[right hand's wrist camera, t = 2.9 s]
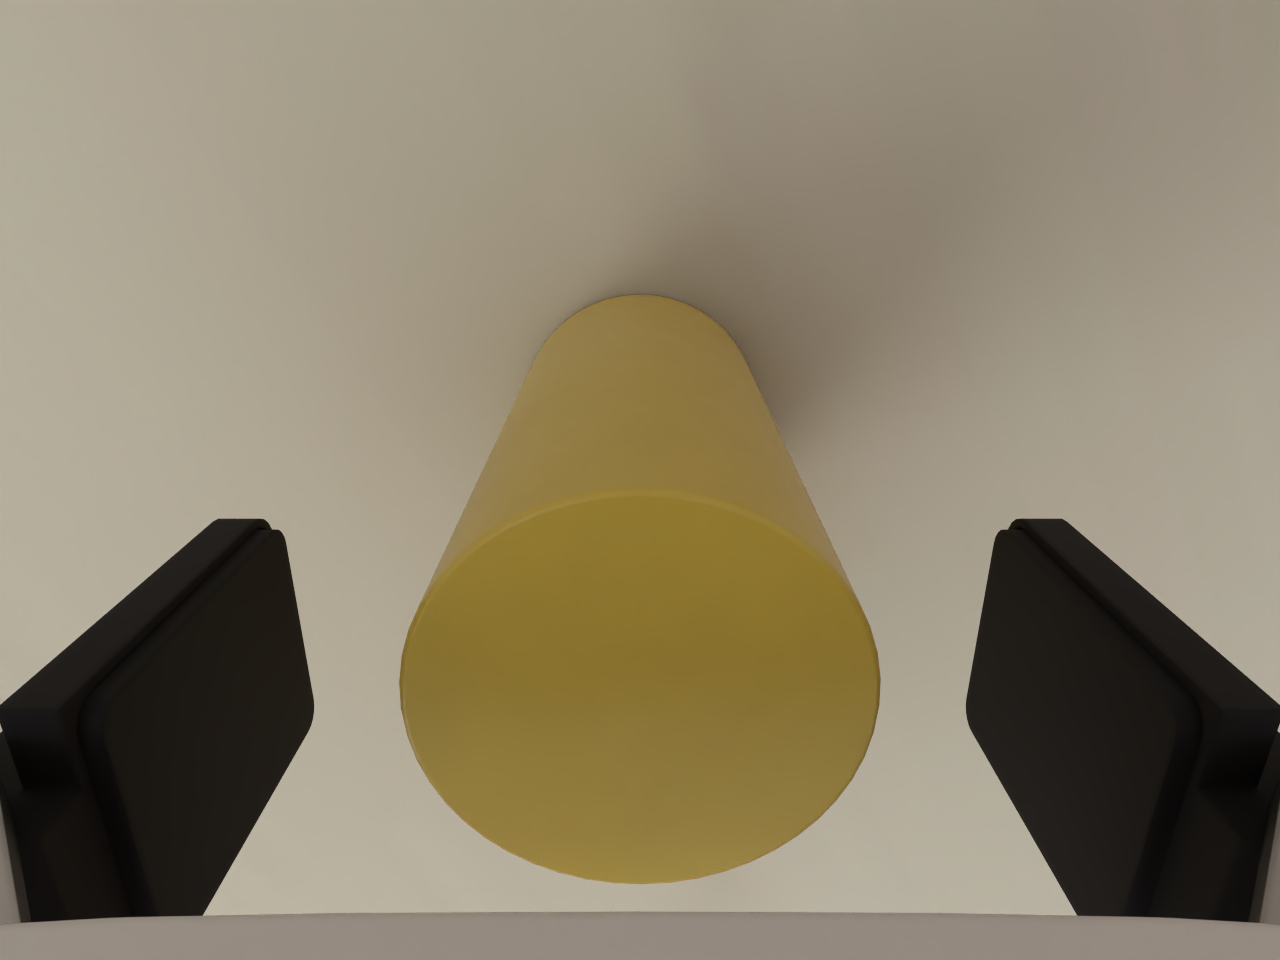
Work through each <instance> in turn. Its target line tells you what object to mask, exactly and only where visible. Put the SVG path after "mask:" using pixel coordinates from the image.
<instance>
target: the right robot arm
mask: <svg viewBox="0 0 1280 960" xmlns="http://www.w3.org/2000/svg"><path fill="white" fill-rule="evenodd" d="M313 714H314V699H313V693H312V688H311V682H310V676H309V671H308V665H307V659H306V654H305V648H304V642H303V637H302V631H301V625H300V620H299V614H298V608H297V603H296V597H295V591H294V586H293V580H292V574H291V569H290V563H289V557H288V552H287V546H286V541H285V538H284V536H283V534H282V532H281V531H280V530H272V529H271V527H270V525H269V523H268V522H267V521H265V520H264V519H217V520H215V521H213V522H212V523H211V524H210V525H209V526H207V527H206V528H205V529H204V530H203V531H202V532H201V533H199V534H198V535H197V536H196V537H195V538H194V539H192V540H191V541H190V542H189V543H188V544H187V545H185V546H184V547H183V548H182V549H181V550H180V551H178V552H177V553H176V554H175V555H174V556H173V557H171V558H170V559H169V560H168V561H167V562H166V563H165V564H163V565H162V566H161V567H160V568H159V569H158V570H156V571H155V572H154V573H153V574H152V575H151V576H149V577H148V578H147V579H146V580H145V581H144V582H142V583H141V584H140V585H139V586H138V587H137V588H136V589H134V590H133V591H132V592H131V593H130V594H129V595H127V596H126V597H125V598H124V599H123V600H122V601H120V602H119V603H118V604H117V605H116V606H115V607H113V608H112V609H111V610H110V611H109V612H108V613H106V614H105V615H104V616H103V617H102V618H101V619H100V620H98V621H97V622H96V623H95V624H94V625H93V626H91V627H90V628H89V629H88V630H87V631H86V632H84V633H83V634H82V635H81V636H80V637H79V638H77V639H76V640H75V641H74V642H73V643H72V644H71V645H69V646H68V647H67V648H66V649H65V650H64V651H62V652H61V653H60V654H59V655H58V656H57V657H55V658H54V659H53V660H52V661H51V662H50V663H48V664H47V665H46V666H45V667H44V668H43V669H41V670H40V671H39V672H38V673H37V674H36V675H35V676H33V677H32V678H31V679H30V680H29V681H28V682H26V683H25V684H24V685H23V686H22V687H21V688H19V689H18V690H17V691H16V692H15V693H14V694H12V695H11V696H10V697H9V698H8V699H7V700H6V701H4V702H3V703H2V704H1V705H0V724H1V727H2V730H3V731H2V732H1V733H0V960H1280V733H1279V732H1278V731H1277V730H1278V727H1279V724H1280V705H1279V704H1278V703H1277V702H1276V701H1274V700H1273V699H1272V698H1271V697H1270V696H1269V695H1268V694H1266V693H1265V692H1264V691H1263V690H1262V689H1261V688H1259V687H1258V686H1257V685H1256V684H1255V683H1254V682H1252V681H1251V680H1250V679H1249V678H1248V677H1247V676H1245V675H1244V674H1243V673H1242V672H1241V671H1240V670H1239V669H1237V668H1236V667H1235V666H1234V665H1233V664H1232V663H1230V662H1229V661H1228V660H1227V659H1226V658H1225V657H1223V656H1222V655H1221V654H1220V653H1219V652H1218V651H1216V650H1215V649H1214V648H1213V647H1212V646H1211V645H1209V644H1208V643H1207V642H1206V641H1205V640H1204V639H1203V638H1201V637H1200V636H1199V635H1198V634H1197V633H1196V632H1194V631H1193V630H1192V629H1191V628H1190V627H1189V626H1187V625H1186V624H1185V623H1184V622H1183V621H1182V620H1180V619H1179V618H1178V617H1177V616H1176V615H1175V614H1174V613H1172V612H1171V611H1170V610H1169V609H1168V608H1167V607H1165V606H1164V605H1163V604H1162V603H1161V602H1160V601H1158V600H1157V599H1156V598H1155V597H1154V596H1153V595H1151V594H1150V593H1149V592H1148V591H1147V590H1146V589H1144V588H1143V587H1142V586H1141V585H1140V584H1139V583H1138V582H1136V581H1135V580H1134V579H1133V578H1132V577H1131V576H1129V575H1128V574H1127V573H1126V572H1125V571H1124V570H1122V569H1121V568H1120V567H1119V566H1118V565H1117V564H1115V563H1114V562H1113V561H1112V560H1111V559H1110V558H1109V557H1107V556H1106V555H1105V554H1104V553H1103V552H1102V551H1100V550H1099V549H1098V548H1097V547H1096V546H1095V545H1093V544H1092V543H1091V542H1090V541H1089V540H1088V539H1086V538H1085V537H1084V536H1083V535H1082V534H1081V533H1079V532H1078V531H1077V530H1076V529H1075V528H1074V527H1073V526H1071V525H1070V524H1069V523H1068V522H1067V521H1065V520H1063V519H1016V520H1015V521H1013V522H1012V523H1011V525H1010V527H1009V529H1008V530H1000V531H999V532H998V534H997V536H996V538H995V541H994V546H993V552H992V557H991V563H990V569H989V574H988V580H987V586H986V591H985V597H984V603H983V608H982V614H981V620H980V625H979V631H978V637H977V642H976V648H975V654H974V659H973V665H972V671H971V676H970V682H969V688H968V693H967V699H966V714H967V720H968V724H969V727H970V729H971V731H972V733H973V735H974V736H975V738H976V740H977V742H978V743H979V745H980V747H981V749H982V750H983V752H984V754H985V756H986V757H987V759H988V761H989V762H990V764H991V766H992V768H993V769H994V771H995V773H996V775H997V776H998V778H999V780H1000V782H1001V783H1002V785H1003V787H1004V789H1005V790H1006V792H1007V794H1008V796H1009V797H1010V799H1011V801H1012V803H1013V804H1014V806H1015V808H1016V809H1017V811H1018V813H1019V815H1020V816H1021V818H1022V820H1023V822H1024V823H1025V825H1026V827H1027V829H1028V830H1029V832H1030V834H1031V836H1032V837H1033V839H1034V841H1035V843H1036V844H1037V846H1038V848H1039V850H1040V851H1041V853H1042V855H1043V857H1044V858H1045V860H1046V862H1047V863H1048V865H1049V867H1050V869H1051V870H1052V872H1053V874H1054V876H1055V877H1056V879H1057V881H1058V883H1059V884H1060V886H1061V888H1062V890H1063V891H1064V893H1065V895H1066V897H1067V898H1068V900H1069V902H1070V904H1071V905H1072V907H1073V909H1074V910H1075V912H1076V914H1077V916H1062V915H1010V914H958V913H811V912H469V913H322V914H270V915H218V916H203V914H204V912H205V910H206V909H207V907H208V905H209V904H210V902H211V900H212V898H213V897H214V895H215V893H216V891H217V890H218V888H219V886H220V884H221V883H222V881H223V879H224V877H225V876H226V874H227V872H228V870H229V869H230V867H231V865H232V863H233V862H234V860H235V858H236V857H237V855H238V853H239V851H240V850H241V848H242V846H243V844H244V843H245V841H246V839H247V837H248V836H249V834H250V832H251V830H252V829H253V827H254V825H255V823H256V822H257V820H258V818H259V816H260V815H261V813H262V811H263V809H264V808H265V806H266V804H267V803H268V801H269V799H270V797H271V796H272V794H273V792H274V790H275V789H276V787H277V785H278V783H279V782H280V780H281V778H282V776H283V775H284V773H285V771H286V769H287V768H288V766H289V764H290V762H291V761H292V759H293V757H294V756H295V754H296V752H297V750H298V749H299V747H300V745H301V743H302V742H303V740H304V738H305V736H306V735H307V733H308V731H309V729H310V727H311V724H312V720H313Z"/></svg>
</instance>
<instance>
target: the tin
mask: <svg viewBox="0 0 1280 960" xmlns="http://www.w3.org/2000/svg"><path fill="white" fill-rule="evenodd" d="M399 685H400V699H401V710H402V714H403V718H404V723H405V727H406V732H407V736H408V738H409V741H410V744H411V746H412V749H413V751H414V754H415V756H416V759H417V761H418V763H419V764H420V766H421V768H422V770H423V771H424V773H425V775H426V776H427V778H428V780H429V782H430V783H431V784H432V786H433V787H434V788H435V790H436V791H437V792H438V793H439V795H440V796H441V797H442V799H443V800H444V801H445V803H446V804H447V805H448V806H449V807H450V808H451V809H452V810H453V811H454V812H455V813H456V814H457V815H458V816H459V817H460V818H461V819H462V820H463V821H465V822H466V823H467V824H468V825H470V826H471V827H472V828H473V829H475V830H476V831H477V832H479V833H480V834H481V835H482V836H484V837H485V838H487V839H488V840H490V841H491V842H493V843H495V844H496V845H498V846H500V847H501V848H503V849H505V850H506V851H508V852H510V853H512V854H514V855H516V856H518V857H520V858H523V859H525V860H527V861H529V862H531V863H533V864H536V865H539V866H542V867H545V868H548V869H550V870H553V871H556V872H559V873H563V874H567V875H571V876H576V877H580V878H584V879H590V880H597V881H604V882H611V883H629V884H652V883H670V882H676V881H683V880H690V879H696V878H701V877H705V876H709V875H712V874H716V873H720V872H724V871H727V870H730V869H733V868H735V867H738V866H741V865H743V864H746V863H749V862H751V861H753V860H755V859H757V858H760V857H762V856H764V855H766V854H768V853H770V852H772V851H774V850H776V849H777V848H779V847H780V846H782V845H784V844H785V843H787V842H788V841H790V840H791V839H793V838H795V837H796V836H798V835H799V834H800V833H801V832H803V831H804V830H805V829H806V828H808V827H809V826H810V825H811V824H813V823H814V822H815V821H816V820H818V819H819V818H820V817H821V816H822V815H823V814H824V813H825V811H826V810H827V809H828V808H829V807H830V806H831V805H832V804H833V803H834V802H835V801H836V800H837V799H838V797H839V796H840V795H841V793H842V792H843V791H844V789H845V788H846V787H847V785H848V784H849V783H850V781H851V780H852V778H853V777H854V775H855V773H856V771H857V769H858V768H859V766H860V764H861V762H862V760H863V758H864V757H865V754H866V751H867V749H868V746H869V743H870V740H871V738H872V735H873V732H874V728H875V723H876V718H877V713H878V708H879V700H880V670H879V661H878V652H877V649H876V645H875V642H874V638H873V635H872V631H871V628H870V625H869V623H868V621H867V619H866V616H865V614H864V612H863V610H862V608H861V606H860V603H859V601H858V599H857V597H856V595H855V593H854V591H853V589H852V586H851V584H850V582H849V580H848V578H847V576H846V574H845V571H844V569H843V567H842V565H841V563H840V561H839V559H838V557H837V554H836V552H835V550H834V548H833V546H832V544H831V542H830V540H829V537H828V535H827V533H826V531H825V529H824V527H823V525H822V523H821V520H820V518H819V516H818V514H817V512H816V510H815V508H814V506H813V503H812V501H811V499H810V497H809V495H808V493H807V491H806V488H805V486H804V484H803V482H802V480H801V478H800V476H799V474H798V471H797V469H796V467H795V465H794V463H793V461H792V459H791V457H790V454H789V452H788V450H787V448H786V446H785V444H784V442H783V440H782V437H781V435H780V433H779V431H778V429H777V427H776V425H775V423H774V420H773V418H772V416H771V414H770V412H769V410H768V408H767V405H766V403H765V401H764V399H763V397H762V395H761V393H760V391H759V388H758V386H757V384H756V382H755V380H754V378H753V376H752V374H751V371H750V369H749V367H748V365H747V363H746V361H745V359H744V357H743V354H742V353H741V351H740V349H739V348H738V346H737V345H736V343H735V342H734V340H733V339H732V338H731V337H730V336H729V334H728V333H727V332H726V331H725V330H724V329H723V328H722V327H721V326H720V325H719V324H718V323H716V322H715V321H714V320H713V319H712V318H710V317H709V316H707V315H706V314H704V313H703V312H701V311H700V310H698V309H696V308H694V307H692V306H690V305H688V304H686V303H683V302H680V301H677V300H674V299H671V298H666V297H660V296H655V295H626V296H619V297H614V298H610V299H606V300H603V301H600V302H597V303H595V304H592V305H590V306H588V307H586V308H584V309H582V310H580V311H578V312H577V313H576V314H574V315H573V316H571V317H570V318H568V319H567V320H566V321H565V322H563V323H562V324H561V325H560V326H559V327H558V328H557V329H556V330H555V331H554V332H553V333H552V334H551V336H550V337H549V338H548V339H547V340H546V342H545V343H544V345H543V346H542V348H541V349H540V351H539V353H538V354H537V356H536V358H535V360H534V362H533V365H532V367H531V369H530V371H529V373H528V375H527V377H526V380H525V382H524V384H523V386H522V388H521V390H520V392H519V394H518V397H517V399H516V401H515V403H514V405H513V407H512V409H511V411H510V414H509V416H508V418H507V420H506V422H505V424H504V426H503V428H502V431H501V433H500V435H499V437H498V439H497V441H496V443H495V445H494V448H493V450H492V452H491V454H490V456H489V458H488V460H487V462H486V465H485V467H484V469H483V471H482V473H481V475H480V477H479V479H478V482H477V484H476V486H475V488H474V490H473V492H472V494H471V496H470V499H469V501H468V503H467V505H466V507H465V509H464V511H463V513H462V516H461V518H460V520H459V522H458V524H457V526H456V528H455V530H454V533H453V535H452V537H451V539H450V541H449V543H448V545H447V547H446V550H445V552H444V554H443V556H442V558H441V560H440V562H439V564H438V567H437V569H436V571H435V573H434V575H433V577H432V579H431V581H430V584H429V586H428V588H427V590H426V592H425V594H424V596H423V598H422V601H421V603H420V605H419V607H418V609H417V612H416V614H415V616H414V619H413V621H412V623H411V625H410V628H409V630H408V634H407V638H406V642H405V645H404V649H403V653H402V659H401V670H400V680H399Z"/></svg>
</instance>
